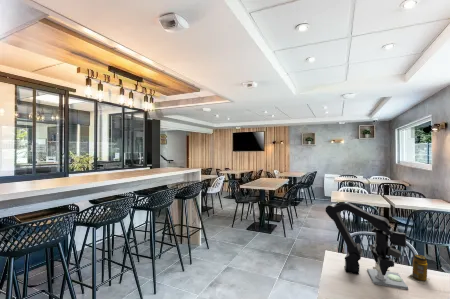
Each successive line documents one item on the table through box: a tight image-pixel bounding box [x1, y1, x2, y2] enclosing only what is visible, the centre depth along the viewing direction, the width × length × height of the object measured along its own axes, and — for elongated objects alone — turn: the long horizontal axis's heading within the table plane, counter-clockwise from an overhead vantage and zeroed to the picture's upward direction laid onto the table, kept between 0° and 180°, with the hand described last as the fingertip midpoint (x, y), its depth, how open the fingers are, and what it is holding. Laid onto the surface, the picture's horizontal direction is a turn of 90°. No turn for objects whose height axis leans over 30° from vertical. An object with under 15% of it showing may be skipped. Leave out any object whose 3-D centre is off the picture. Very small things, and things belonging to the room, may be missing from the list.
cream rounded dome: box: [372, 262, 390, 272], centre depth 124 cm, size 7×5×3 cm
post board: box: [366, 268, 409, 290], centre depth 125 cm, size 15×13×6 cm
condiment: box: [407, 254, 431, 285], centre depth 126 cm, size 7×8×12 cm
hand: (380, 270), depth 124 cm, fingers open, 9 cm apart
